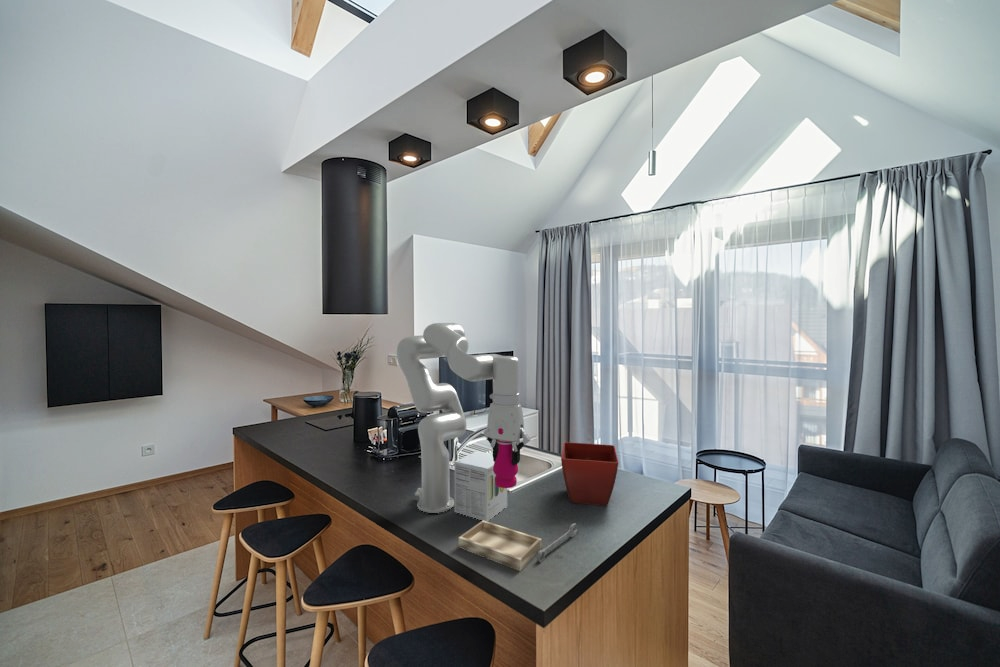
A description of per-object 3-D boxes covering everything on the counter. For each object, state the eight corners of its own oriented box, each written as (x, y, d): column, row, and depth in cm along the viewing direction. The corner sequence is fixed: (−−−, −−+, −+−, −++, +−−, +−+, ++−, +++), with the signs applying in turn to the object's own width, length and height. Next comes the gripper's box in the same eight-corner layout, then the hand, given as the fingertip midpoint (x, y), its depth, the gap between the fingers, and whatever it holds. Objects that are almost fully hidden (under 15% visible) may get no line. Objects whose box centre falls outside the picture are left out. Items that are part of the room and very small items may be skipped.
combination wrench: (539, 552, 109) (579, 522, 124) (535, 550, 110) (575, 521, 125) (539, 566, 109) (579, 534, 124) (535, 564, 110) (575, 533, 125)
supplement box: (487, 523, 131) (486, 468, 130) (453, 513, 138) (453, 461, 137) (508, 507, 142) (508, 456, 142) (476, 498, 149) (476, 450, 148)
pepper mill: (488, 484, 119) (487, 415, 119) (505, 477, 125) (504, 411, 124) (506, 491, 114) (506, 419, 114) (523, 483, 120) (523, 414, 119)
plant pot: (618, 511, 139) (618, 462, 138) (560, 506, 142) (560, 458, 142) (614, 488, 157) (614, 444, 157) (563, 484, 161) (563, 441, 160)
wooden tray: (458, 548, 117) (458, 537, 117) (483, 529, 127) (482, 520, 127) (520, 571, 106) (520, 559, 106) (541, 549, 116) (541, 538, 116)
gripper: (473, 398, 120) (474, 460, 120) (526, 404, 111) (526, 471, 112) (487, 394, 126) (488, 453, 127) (538, 400, 117) (538, 463, 118)
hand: (506, 461), depth 119 cm, fingers closed on pepper mill, 5 cm apart
